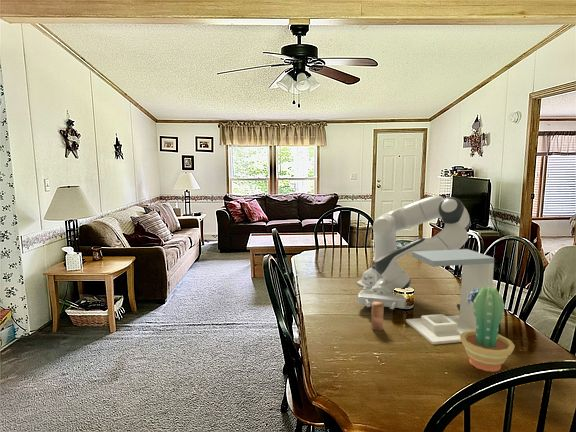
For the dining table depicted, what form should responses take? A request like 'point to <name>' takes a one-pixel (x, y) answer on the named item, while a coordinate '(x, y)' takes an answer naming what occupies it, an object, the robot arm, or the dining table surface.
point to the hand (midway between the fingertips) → (379, 306)
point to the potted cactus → (486, 331)
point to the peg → (377, 316)
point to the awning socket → (473, 277)
